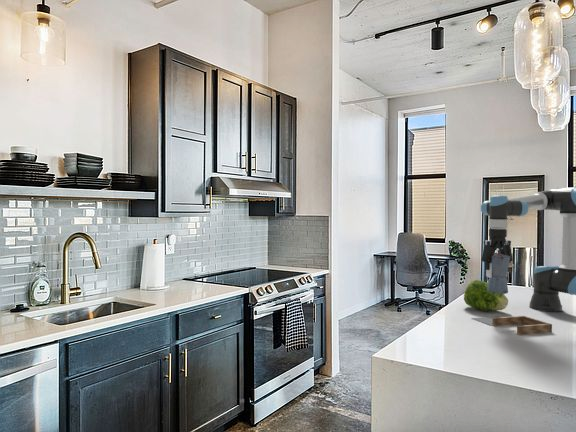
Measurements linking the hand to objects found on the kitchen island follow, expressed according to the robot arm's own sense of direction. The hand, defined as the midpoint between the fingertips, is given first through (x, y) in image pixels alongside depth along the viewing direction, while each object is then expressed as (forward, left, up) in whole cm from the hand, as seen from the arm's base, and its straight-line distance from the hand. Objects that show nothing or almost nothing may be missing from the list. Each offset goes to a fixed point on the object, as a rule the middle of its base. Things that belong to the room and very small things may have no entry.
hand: (496, 276), depth 201 cm
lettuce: (-12, -20, -21) cm, 32 cm away
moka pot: (0, 0, -7) cm, 8 cm away
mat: (0, -1, -21) cm, 21 cm away
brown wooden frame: (-1, +13, -21) cm, 25 cm away
